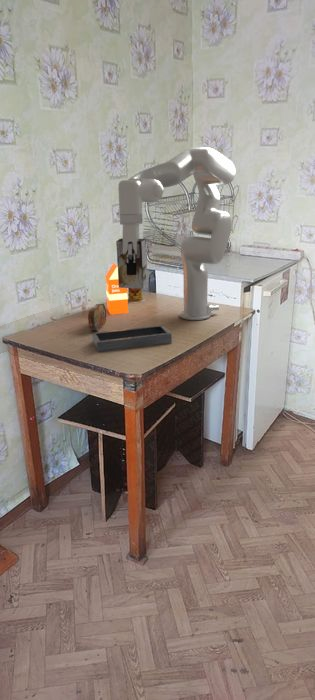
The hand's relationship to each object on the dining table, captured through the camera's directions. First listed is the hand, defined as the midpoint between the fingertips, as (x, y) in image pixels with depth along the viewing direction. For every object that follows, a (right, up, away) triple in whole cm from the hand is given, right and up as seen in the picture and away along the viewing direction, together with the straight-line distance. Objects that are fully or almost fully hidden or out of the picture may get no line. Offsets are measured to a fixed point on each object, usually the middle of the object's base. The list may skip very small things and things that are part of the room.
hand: (132, 272), depth 177 cm
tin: (-14, -18, +22) cm, 32 cm away
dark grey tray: (-1, -24, +5) cm, 25 cm away
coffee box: (0, -5, +2) cm, 5 cm away
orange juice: (-8, -10, +43) cm, 45 cm away
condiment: (-2, -4, +58) cm, 58 cm away
